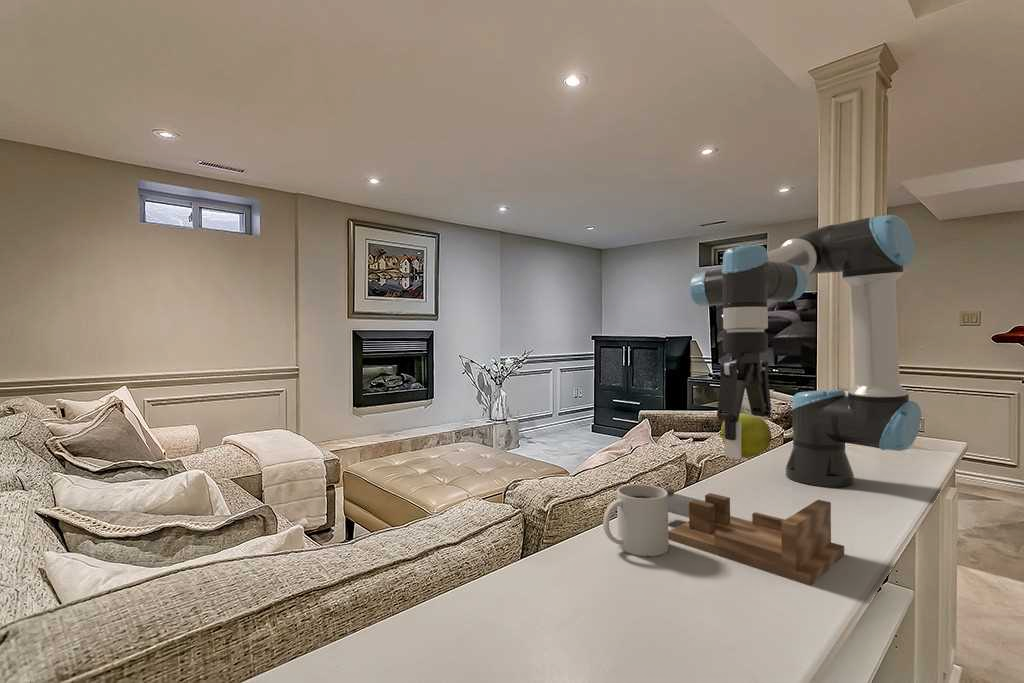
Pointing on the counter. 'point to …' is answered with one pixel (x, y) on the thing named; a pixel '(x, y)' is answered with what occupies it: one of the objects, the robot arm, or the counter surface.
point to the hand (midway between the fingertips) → (745, 453)
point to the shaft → (679, 503)
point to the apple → (751, 435)
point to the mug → (640, 520)
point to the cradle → (764, 538)
